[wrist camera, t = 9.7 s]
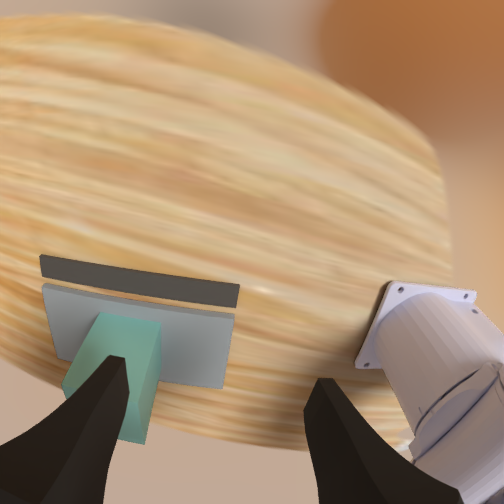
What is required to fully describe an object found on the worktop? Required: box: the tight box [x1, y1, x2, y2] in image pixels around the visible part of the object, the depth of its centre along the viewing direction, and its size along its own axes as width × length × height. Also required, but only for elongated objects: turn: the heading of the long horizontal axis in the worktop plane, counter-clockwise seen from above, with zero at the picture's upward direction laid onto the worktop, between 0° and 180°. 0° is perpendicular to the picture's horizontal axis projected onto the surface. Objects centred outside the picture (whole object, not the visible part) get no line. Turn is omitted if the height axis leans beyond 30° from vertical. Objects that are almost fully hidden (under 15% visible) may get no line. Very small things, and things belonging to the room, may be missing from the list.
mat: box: [42, 283, 234, 389], centre depth 21 cm, size 14×7×1 cm, turn 80°
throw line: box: [39, 254, 240, 308], centre depth 19 cm, size 14×2×1 cm, turn 80°
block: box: [61, 312, 161, 445], centre depth 17 cm, size 4×4×7 cm
